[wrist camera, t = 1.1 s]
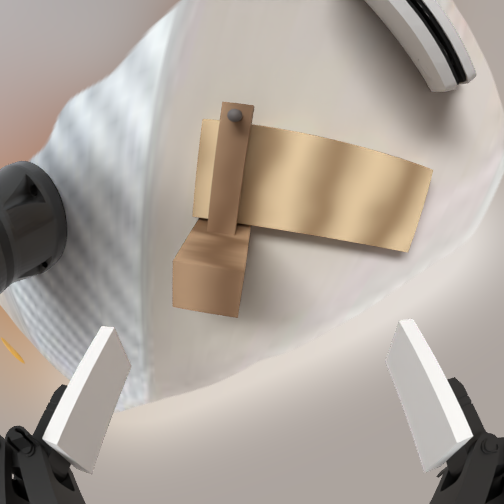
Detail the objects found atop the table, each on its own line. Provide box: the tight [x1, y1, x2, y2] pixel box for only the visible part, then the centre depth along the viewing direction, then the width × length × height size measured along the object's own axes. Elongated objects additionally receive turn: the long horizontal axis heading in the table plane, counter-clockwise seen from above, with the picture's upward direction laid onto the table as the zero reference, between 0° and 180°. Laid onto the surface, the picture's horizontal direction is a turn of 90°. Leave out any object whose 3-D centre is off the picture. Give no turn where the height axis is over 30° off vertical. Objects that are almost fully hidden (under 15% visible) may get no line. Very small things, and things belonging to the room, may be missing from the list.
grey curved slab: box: [364, 0, 476, 92], centre depth 15 cm, size 17×5×10 cm, turn 39°
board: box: [193, 119, 433, 252], centre depth 26 cm, size 22×9×2 cm, turn 81°
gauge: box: [173, 102, 254, 318], centre depth 22 cm, size 5×15×10 cm, turn 172°
